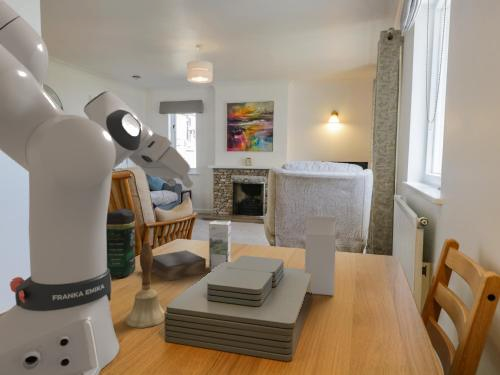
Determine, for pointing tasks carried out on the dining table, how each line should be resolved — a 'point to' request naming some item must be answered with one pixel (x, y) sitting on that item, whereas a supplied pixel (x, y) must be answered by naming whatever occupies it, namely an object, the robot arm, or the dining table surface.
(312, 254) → the milk carton
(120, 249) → the coffee jar
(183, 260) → the podium
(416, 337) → the dining table surface
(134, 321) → the hand bell
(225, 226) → the syrup box
